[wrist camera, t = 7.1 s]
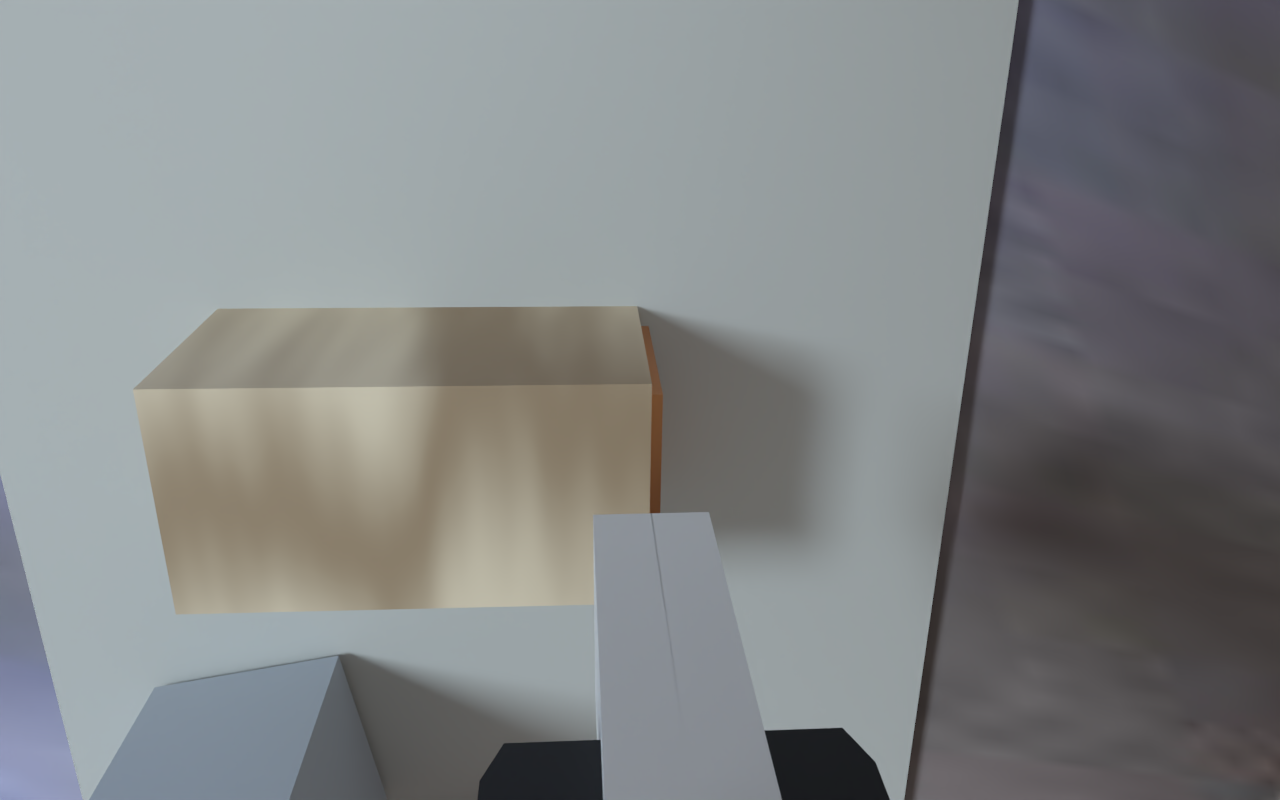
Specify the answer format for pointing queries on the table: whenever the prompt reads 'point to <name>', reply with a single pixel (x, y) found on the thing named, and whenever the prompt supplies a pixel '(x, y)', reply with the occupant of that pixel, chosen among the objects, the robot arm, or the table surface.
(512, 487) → the beech block
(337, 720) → the slate block
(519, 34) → the felt mat
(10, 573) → the table surface
